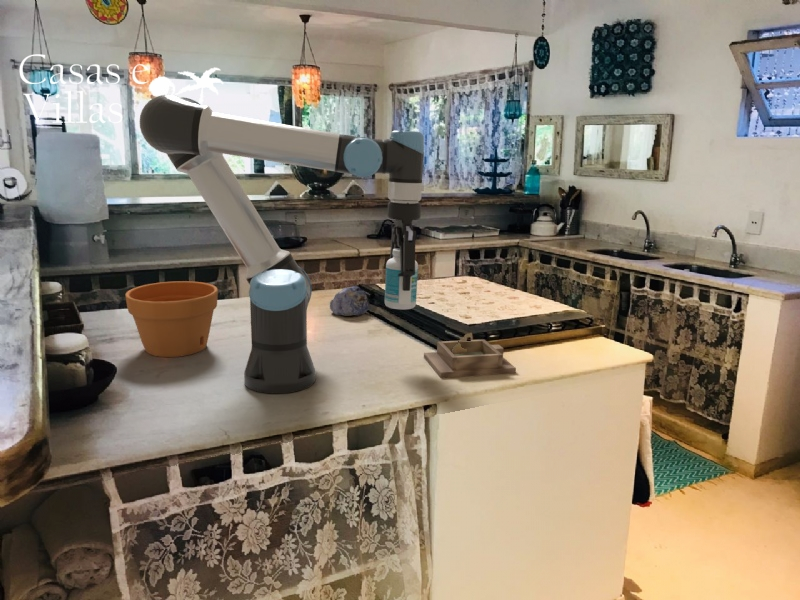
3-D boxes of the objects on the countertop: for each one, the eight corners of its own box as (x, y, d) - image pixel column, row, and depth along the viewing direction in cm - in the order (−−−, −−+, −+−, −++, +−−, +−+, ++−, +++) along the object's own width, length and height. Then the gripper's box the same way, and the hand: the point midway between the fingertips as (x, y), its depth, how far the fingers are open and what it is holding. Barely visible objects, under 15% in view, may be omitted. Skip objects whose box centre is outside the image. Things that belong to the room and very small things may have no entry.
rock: (375, 303, 198) (361, 277, 193) (358, 325, 191) (342, 299, 187) (350, 304, 204) (335, 279, 200) (332, 326, 198) (317, 300, 193)
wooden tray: (440, 377, 144) (441, 359, 143) (423, 357, 157) (424, 341, 156) (515, 372, 148) (516, 355, 147) (493, 353, 161) (494, 337, 160)
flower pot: (184, 367, 147) (181, 304, 143) (110, 355, 153) (104, 295, 150) (236, 341, 166) (234, 285, 163) (168, 332, 173) (165, 278, 169)
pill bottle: (412, 311, 147) (415, 253, 144) (381, 308, 149) (383, 250, 146) (418, 304, 155) (421, 248, 151) (388, 301, 156) (390, 246, 153)
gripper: (433, 206, 137) (427, 310, 143) (409, 197, 156) (405, 289, 162) (398, 205, 135) (394, 310, 141) (379, 196, 155) (376, 289, 160)
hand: (400, 299), depth 151 cm, fingers closed on pill bottle, 7 cm apart
